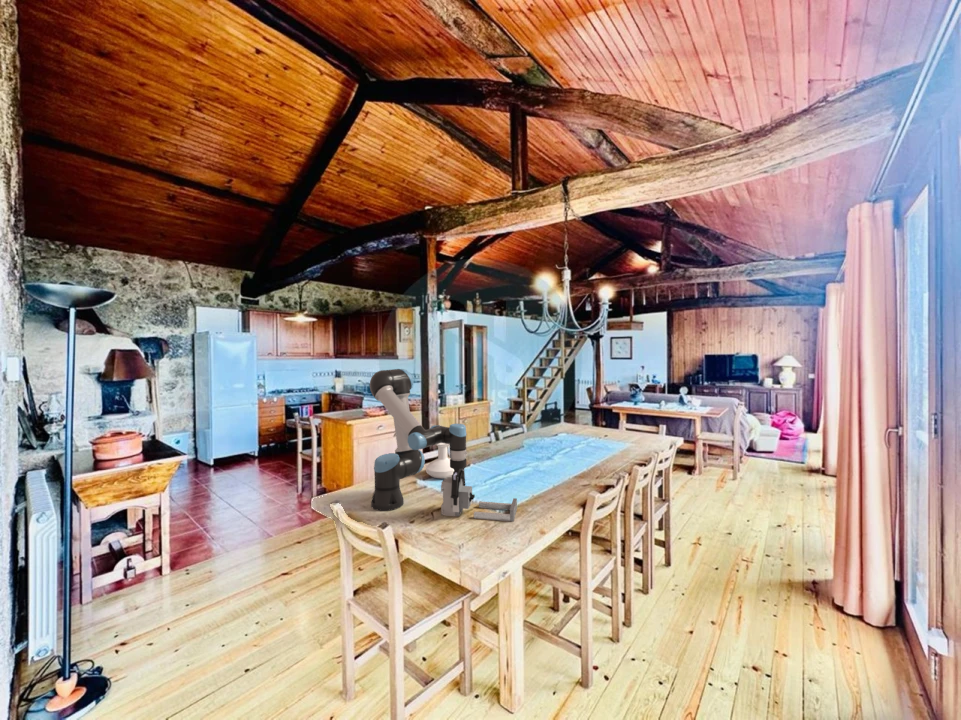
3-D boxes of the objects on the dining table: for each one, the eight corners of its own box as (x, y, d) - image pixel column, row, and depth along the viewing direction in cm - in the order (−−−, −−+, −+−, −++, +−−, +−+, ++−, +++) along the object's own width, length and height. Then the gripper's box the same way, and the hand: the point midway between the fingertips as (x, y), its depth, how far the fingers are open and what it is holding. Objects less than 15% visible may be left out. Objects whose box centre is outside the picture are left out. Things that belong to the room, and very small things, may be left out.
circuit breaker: (472, 517, 180) (471, 484, 179) (441, 515, 183) (440, 482, 182) (475, 510, 188) (475, 478, 187) (446, 508, 190) (445, 476, 190)
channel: (473, 518, 179) (473, 507, 179) (479, 506, 192) (479, 496, 192) (513, 521, 176) (513, 510, 176) (516, 509, 189) (516, 498, 188)
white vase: (447, 467, 252) (446, 436, 251) (467, 475, 236) (466, 442, 235) (419, 474, 239) (418, 442, 238) (438, 483, 224) (437, 449, 223)
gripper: (460, 466, 173) (460, 518, 174) (471, 452, 194) (472, 498, 195) (443, 465, 174) (443, 516, 175) (456, 451, 196) (456, 497, 197)
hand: (458, 507), depth 185 cm, fingers open, 9 cm apart
